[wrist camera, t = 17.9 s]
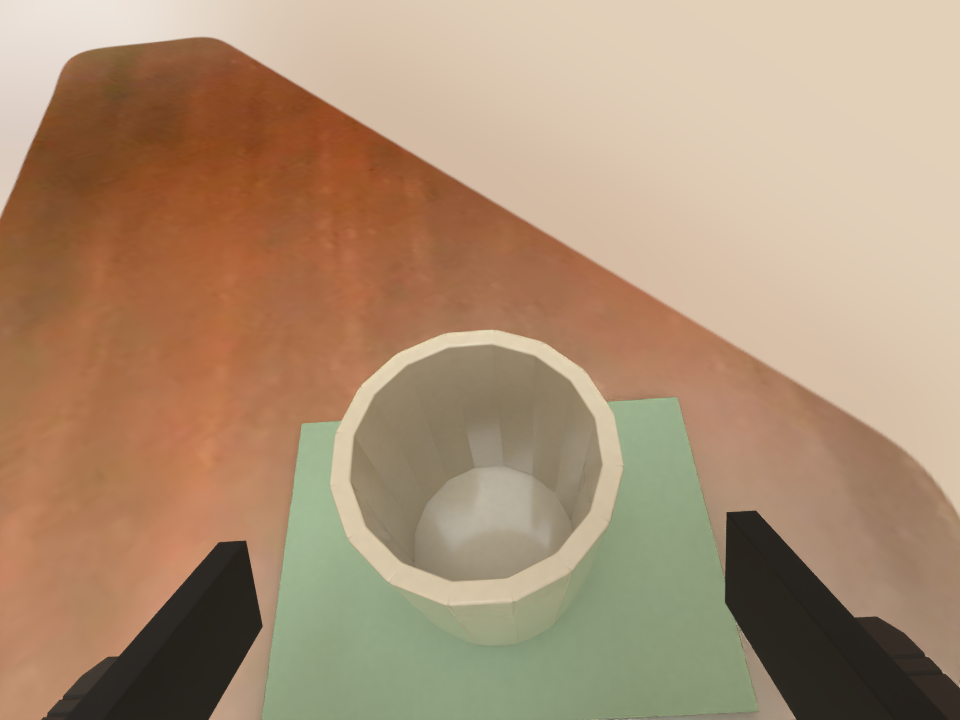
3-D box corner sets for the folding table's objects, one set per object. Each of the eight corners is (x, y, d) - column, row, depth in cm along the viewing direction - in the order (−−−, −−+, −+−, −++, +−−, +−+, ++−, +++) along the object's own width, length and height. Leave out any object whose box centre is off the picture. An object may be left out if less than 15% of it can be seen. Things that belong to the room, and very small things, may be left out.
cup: (573, 454, 28) (596, 320, 18) (599, 641, 24) (648, 594, 14) (406, 466, 29) (344, 339, 19) (401, 652, 24) (315, 613, 14)
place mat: (676, 400, 30) (677, 396, 29) (755, 711, 22) (759, 711, 22) (303, 426, 31) (301, 423, 30) (262, 736, 23) (258, 736, 23)
